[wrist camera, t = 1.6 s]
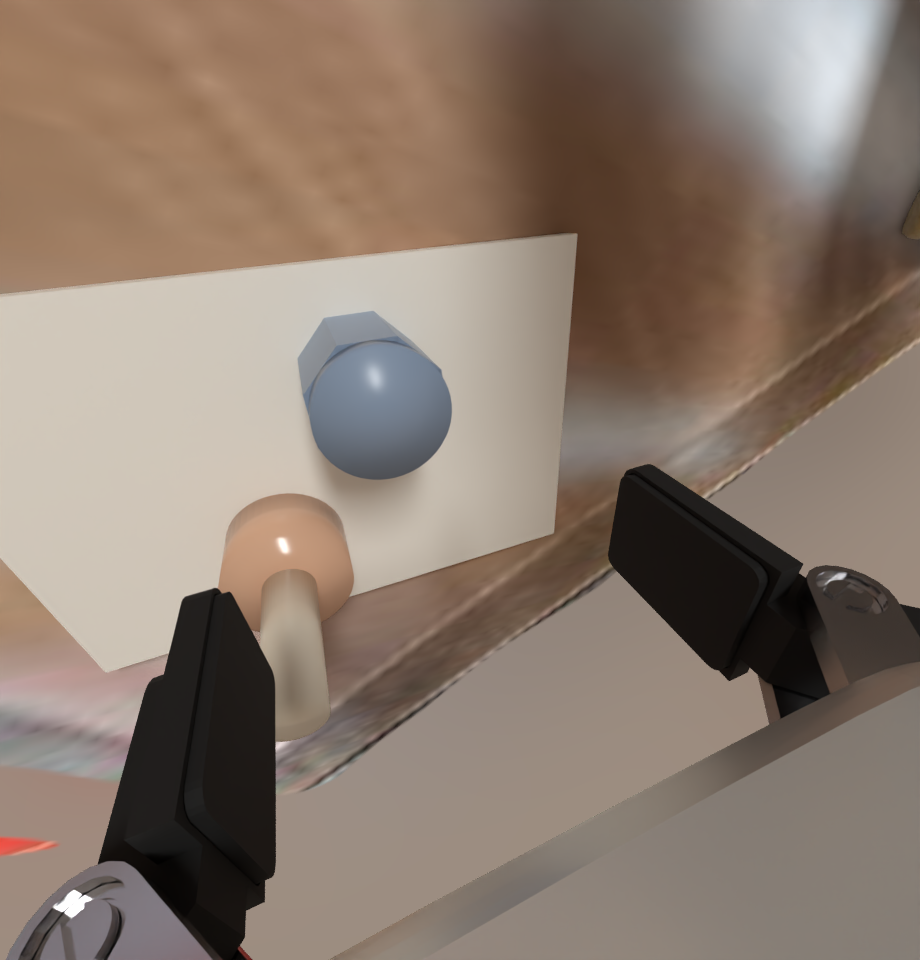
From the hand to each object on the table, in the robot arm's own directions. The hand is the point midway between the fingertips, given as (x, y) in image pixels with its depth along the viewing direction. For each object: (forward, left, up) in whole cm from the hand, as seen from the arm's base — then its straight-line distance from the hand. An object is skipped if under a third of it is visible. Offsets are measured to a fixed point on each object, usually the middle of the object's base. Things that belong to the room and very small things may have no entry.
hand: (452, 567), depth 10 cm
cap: (0, 0, -14) cm, 14 cm away
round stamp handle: (+6, +9, -14) cm, 18 cm away
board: (+3, +5, -15) cm, 16 cm away
